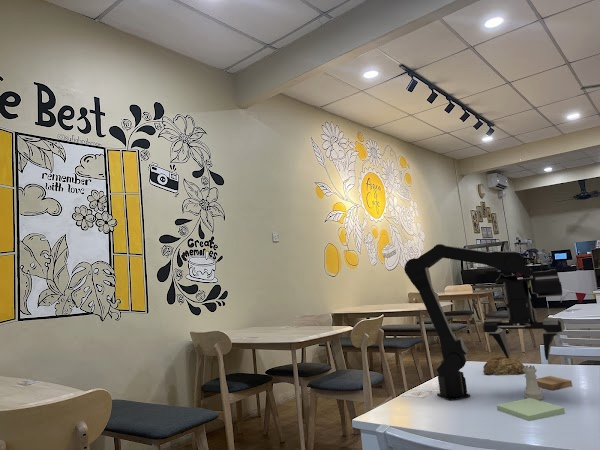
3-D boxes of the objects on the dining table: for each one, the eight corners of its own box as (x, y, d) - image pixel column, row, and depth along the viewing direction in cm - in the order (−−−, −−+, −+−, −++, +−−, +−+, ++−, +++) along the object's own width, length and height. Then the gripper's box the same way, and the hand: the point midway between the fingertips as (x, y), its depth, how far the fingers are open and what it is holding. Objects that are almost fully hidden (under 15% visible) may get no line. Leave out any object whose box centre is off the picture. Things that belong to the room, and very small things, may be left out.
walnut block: (552, 392, 118) (551, 384, 118) (532, 387, 124) (530, 379, 125) (572, 388, 120) (571, 380, 120) (551, 383, 126) (550, 375, 127)
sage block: (530, 425, 96) (528, 416, 97) (497, 413, 106) (496, 405, 106) (565, 416, 99) (564, 407, 100) (531, 406, 109) (529, 397, 109)
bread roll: (520, 366, 148) (518, 351, 149) (529, 375, 136) (527, 359, 137) (480, 368, 151) (478, 353, 152) (486, 377, 139) (483, 361, 140)
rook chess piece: (546, 400, 110) (541, 367, 111) (527, 401, 111) (522, 368, 112) (540, 395, 115) (535, 364, 116) (522, 396, 115) (517, 365, 116)
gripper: (562, 294, 117) (573, 354, 115) (489, 297, 128) (497, 352, 126) (556, 298, 108) (566, 363, 106) (478, 301, 119) (486, 360, 117)
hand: (527, 359), depth 114 cm, fingers open, 9 cm apart
